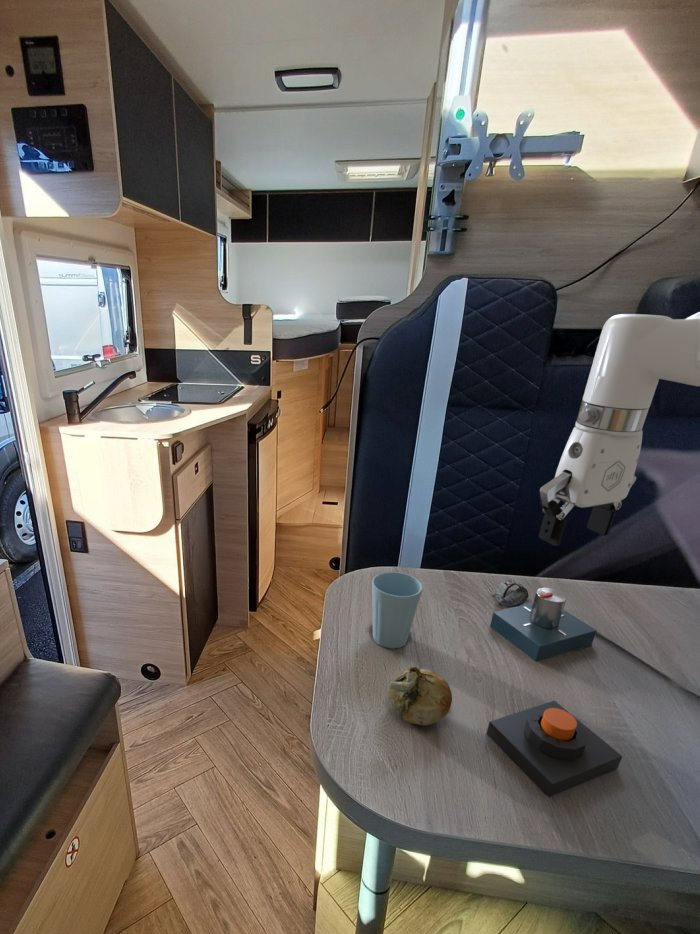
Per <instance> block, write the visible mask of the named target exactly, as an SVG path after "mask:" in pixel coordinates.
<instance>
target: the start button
mask: <svg viewBox="0 0 700 934" xmlns="http://www.w3.org/2000/svg"><path fill="white" fill-rule="evenodd" d="M568 712H569V711H568ZM568 712H566V711H564V710H561V709H558V708H549V709H547V710H545V712H544V714H543V718H542V721H541V728H542V730H543V731H544V732H545V733H546V734H547V735H549V736H551V737H553V738H555V739H557V740H563V741H567V740H570V739H572V737H573V735H574V733H575V730H576V727H577V721H576V719H577V718H576V717H575V716H574V715H573V714H572V715H573V716H574V717H575V718H576V719H575V718H574V717H573V716H572V715H571V713H570V712H569V713H570V714H569V713H568Z"/></svg>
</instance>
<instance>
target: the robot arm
mask: <svg viewBox="0 0 700 934" xmlns="http://www.w3.org/2000/svg"><path fill="white" fill-rule="evenodd" d="M660 380H665V381H669V382H674V383H679V384H684V385H687V386H688V385H689V386H694V387H700V311H697V312H696V313H694V314H692V315H690V316H687V317H686V318H682V319H681V318H677V319H676V318H675V319H674V318H672V317H670V316H666V315H659V314H645V313H643V314H642V313H620V314H615V315H612V316H611V317H610V318H608V319H607V320H606V321H605V323H604V324H603V326H602V329H601V333H600V336H599V340H598V343H597V345H596V350H595V354H594V357H593V361H592V365H591V368H590V372H589V375H588V379H587V382H586V385H585V389H584V393H583V396H582V400H581V403H580V406H579V411H578V414H577V416H576V421H575V424H574V427H573V429H572V431H571V433H570V435H569V437H568V439H567V442H566V444H565V447H564V450H563V452H562V454H561V457H560V460H559V463H558V466H557V468H556V471H555V475H554V478H552V479H551V480H550V481H548V482H547V483H545V484H544V485H541V487H540V488H539V497H540V503H539V504H540V506H541V508H542V513H543V514H544V515H543V519H542V522H541V526H540V529H539V534H538V538H539V539H540V540H542V541H544V542H546V543H547V544H550V545H552V546H555V547H558V546H560V545H561V543H562V540H563V535H564V532H565V529H566V526H567V521H568V519H566V518H565V517H566V516H567V515H568V514H569V513H570V511H572V509H573V508H574V507H578V508H582V509H583V508H591V507H592V509H591V512H590V515H589V519H588V521H587V525H586V528H587V529H588V530H589V531H592V532H594V533H597V534H599V535H601V536H603V537H606V536H609V535H610V532H611V529H612V527H613V523H614V521H615V518H616V514H617V511H618V510H620V509H621V508H622V506H623V505H622V504H623V502H622V501H623V500H624V499H626V498H627V496H628V495H629V493H630V490H631V488H632V487H633V485H634V484H635V482H636V480H637V476H636V475H635V473H636V469H637V464H638V463H639V458H640V454H641V448H642V442H643V433H644V432H643V431H644V430H643V427H644V424H645V421H646V419H647V415H648V413H649V410H650V407H651V404H652V401H653V399H654V396H655V394H656V393H655V392H656V390H657V386H658V385H659V381H660ZM561 502H562V503H564V504H563V505H562V506H561V507H560V506H559V503H561Z"/></svg>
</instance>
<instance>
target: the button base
mask: <svg viewBox="0 0 700 934" xmlns="http://www.w3.org/2000/svg"><path fill="white" fill-rule="evenodd" d="M549 708H558V709H561V710H564V711H566V712H568V713H569V714H571V712H569V711H568V710H567V709H566V708H564V707H563V705H561V704H560V703H558V702H557V701H556V700H551V701H548V702H545V703H542V704H539V705H536V706H533V707H529V708H527V709H524V710H521V711H517V712H515V713H512V714H509V715H506V716H502V717H500V718H497V719H493V720H490V721H489V722H488V726H487V729H486V735H487V736H488V738H490V739H491V741H493V743H494V744H496V746H498V748H500V750H502V752H503V753H504V754H506V756H507V757H508V758H509V759H510V760H511V761H512V762H513V763H514V764H515V765H516V766H517V767H518V768H519V770H521V771H522V772H523V773H524V774H525V775H526V776H527V777H528V778H529V779H530V781H532V782H533V784H534V785H535V786H536V787H538V788H539V790H541V792H543V794H544V795H545V796H546V797H548V798H550V797H552V796H555V795H557V794H560V793H562V792H564V791H567V790H569V789H572V788H574V787H577V786H579V785H582V784H584V783H587V782H588V781H589V782H590V781H591V780H594V779H596V778H599V777H601V776H603V775H606V774H609V773H611V772H614V771H616V770H618V768H619V765H620V763H621V761H622V759H623V755H622V754H621V753H619V752H618V751H617V750H615V748H613V747H612V746H611V745H610V744H608V743H607V742H606V741H605V740H603V739H602V738H601V737H600V736H599V735H597V734H596V733H595V732H594V731H592V730H591V729H590V728H589V727H587V726H586V725H585V724H584V723H582V721H580V720H579V719H578V718H577V717H576V716H574V715H573V714H571V715H572V716H573V717H574V718H575V719H576V721H577V727H576V730H575V733H574V735H573V737H572V739H570V740H567V741H563V740H557V739H555V738H553V737H551V736H549V735H547V734H546V733H545V732H544V731H543V730H542V728H541V721H542V718H543V714H544V712H545V710H547V709H549Z"/></svg>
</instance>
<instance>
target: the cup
mask: <svg viewBox="0 0 700 934" xmlns="http://www.w3.org/2000/svg"><path fill="white" fill-rule="evenodd" d="M423 587H424V586H423V584H422V582H421V581H420V579H417V578H416V577H415V576H412V575H410V574H407V573H403V572H400V571H385V572H381V573H378V574H376V575H375V576H374V577H373V578H372V580H371V596H372V597H371V599H372V601H371V602H372V604H371V605H372V609H371V612H372V614H371V615H372V638H373V641H374V642H375V643H376V644H378V645H379V646H381V647H383V648H388V649H400V648H402V647H404V646H405V645H406V644H407V642H408V639H409V636H410V633H411V629H412V626H413V622H414V618H415V616H416V612H417V609H418V605H419V602H420V599H421V596H422V592H423Z"/></svg>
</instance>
